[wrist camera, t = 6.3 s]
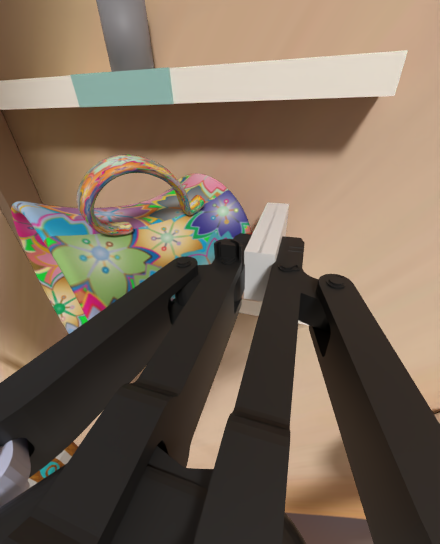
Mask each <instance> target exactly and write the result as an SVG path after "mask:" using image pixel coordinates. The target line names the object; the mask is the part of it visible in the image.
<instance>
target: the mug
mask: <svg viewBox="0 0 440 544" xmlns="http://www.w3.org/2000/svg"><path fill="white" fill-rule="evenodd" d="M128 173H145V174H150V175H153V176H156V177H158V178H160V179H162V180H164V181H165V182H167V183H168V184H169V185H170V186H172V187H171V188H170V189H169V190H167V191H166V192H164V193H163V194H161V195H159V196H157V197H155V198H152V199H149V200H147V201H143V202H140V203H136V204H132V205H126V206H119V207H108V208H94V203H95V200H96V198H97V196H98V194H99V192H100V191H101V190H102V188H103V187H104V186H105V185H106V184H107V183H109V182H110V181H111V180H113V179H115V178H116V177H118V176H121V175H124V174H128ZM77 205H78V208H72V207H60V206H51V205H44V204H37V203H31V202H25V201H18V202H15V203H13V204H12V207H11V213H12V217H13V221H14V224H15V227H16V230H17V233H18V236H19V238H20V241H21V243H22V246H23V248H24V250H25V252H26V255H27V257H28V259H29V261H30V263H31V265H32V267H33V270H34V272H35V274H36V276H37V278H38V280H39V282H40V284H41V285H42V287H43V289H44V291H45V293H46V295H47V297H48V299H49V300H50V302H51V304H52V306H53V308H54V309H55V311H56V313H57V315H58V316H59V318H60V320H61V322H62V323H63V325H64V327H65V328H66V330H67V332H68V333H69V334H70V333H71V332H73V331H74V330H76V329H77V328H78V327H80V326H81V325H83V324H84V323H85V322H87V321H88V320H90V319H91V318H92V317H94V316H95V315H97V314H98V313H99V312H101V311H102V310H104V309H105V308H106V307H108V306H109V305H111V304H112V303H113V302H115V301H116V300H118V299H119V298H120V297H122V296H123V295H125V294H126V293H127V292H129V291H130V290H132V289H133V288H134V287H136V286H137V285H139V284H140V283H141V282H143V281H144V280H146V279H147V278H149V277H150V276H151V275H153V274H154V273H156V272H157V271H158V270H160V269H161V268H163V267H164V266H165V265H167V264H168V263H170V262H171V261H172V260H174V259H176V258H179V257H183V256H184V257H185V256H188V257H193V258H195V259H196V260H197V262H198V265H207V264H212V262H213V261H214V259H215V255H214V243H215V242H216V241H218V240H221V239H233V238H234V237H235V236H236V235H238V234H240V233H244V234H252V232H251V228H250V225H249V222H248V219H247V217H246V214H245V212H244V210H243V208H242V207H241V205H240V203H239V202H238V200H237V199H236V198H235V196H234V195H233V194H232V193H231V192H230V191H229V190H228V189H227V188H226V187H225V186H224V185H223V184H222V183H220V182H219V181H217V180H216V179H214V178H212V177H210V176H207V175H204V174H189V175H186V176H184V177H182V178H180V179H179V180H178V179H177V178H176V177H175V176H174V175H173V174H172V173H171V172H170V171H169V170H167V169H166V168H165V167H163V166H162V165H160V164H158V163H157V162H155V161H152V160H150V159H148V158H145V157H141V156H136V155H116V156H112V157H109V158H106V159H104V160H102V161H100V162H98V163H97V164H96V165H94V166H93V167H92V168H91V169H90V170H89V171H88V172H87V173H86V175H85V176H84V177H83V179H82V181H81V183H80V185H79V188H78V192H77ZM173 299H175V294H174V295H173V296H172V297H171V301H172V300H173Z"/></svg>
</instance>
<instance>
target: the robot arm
mask: <svg viewBox="0 0 440 544" xmlns="http://www.w3.org/2000/svg"><path fill="white" fill-rule="evenodd" d="M288 209H289V204H284V203H267V204H266V206H265V209H264V211H263V213H262V215H261V217H260V219H259V221H258V223H257V225H256V228H255V230H254V232H253V234H244V233H240V234H238V235H236V236H235V237H234V238H233V239H221V240H218V241H216V242H215V243H214V255H215V259H214V261H213V262H212V264H207V265H198V262H197V260H196V259H195V258H193V257H188V256H185V257H184V256H183V257H179V258H176V259H174V260H172V261H171V262H170V263H168V264H167V265H165V266H164V267H163V268H161V269H160V270H158V271H157V272H156V273H154V274H153V275H151V276H150V277H149V278H147V279H146V280H144V281H143V282H141V283H140V284H139V285H137V286H136V287H134V288H133V289H132V290H130V291H129V292H127V293H126V294H125V295H123V296H122V297H120V298H119V299H118V300H116V301H115V302H113V303H112V304H111V305H109V306H108V307H106V308H105V309H104V310H102V311H101V312H99V313H98V314H97V315H95V316H94V317H92V318H91V319H90V320H88V321H87V322H85V323H84V324H83V325H81V326H80V327H78V328H77V329H76V330H74V331H73V332H71V333H70V334H68V335H67V336H66V337H64V338H63V339H61V340H60V341H59V342H57V343H56V344H54V345H53V346H52V347H50V348H49V349H47V350H46V351H45V352H43V353H42V354H40V355H39V356H38V357H36V358H35V359H33V360H32V361H31V362H29V363H28V364H26V365H25V366H24V367H22V368H21V369H19V370H18V371H17V372H15V373H14V374H12V375H11V376H10V377H8V378H7V379H5V380H4V381H3V382H1V383H0V544H306V543H305V541H304V539H303V538H302V536H301V534H300V532H299V531H298V529H297V528H296V526H295V525H294V523H293V522H292V520H291V519H290V518H289V517H288V516H287V514H286V513H285V499H286V487H287V474H288V461H289V448H290V414H291V402H292V390H293V378H294V366H295V354H296V342H297V330H298V320H299V321H301V322H303V323H306V324H308V325H309V331H310V334H311V338H312V341H313V344H314V347H315V351H316V354H317V357H318V361H319V364H320V367H321V371H322V374H323V377H324V381H325V384H326V387H327V390H328V394H329V397H330V400H331V404H332V407H333V410H334V414H335V417H336V420H337V424H338V427H339V430H340V433H341V437H342V440H343V443H344V447H345V450H346V453H347V457H348V460H349V463H350V467H351V470H352V473H353V476H354V480H355V483H356V486H357V490H358V493H359V496H360V500H361V503H362V506H363V510H364V513H365V516H366V519H367V523H368V526H369V529H370V532H371V536H372V539H373V542H374V544H440V423H439V422H438V420H437V419H436V417H435V415H434V414H433V412H432V410H431V409H430V407H429V406H428V404H427V402H426V401H425V399H424V398H423V396H422V394H421V393H420V391H419V389H418V388H417V386H416V385H415V383H414V381H413V380H412V378H411V376H410V375H409V373H408V372H407V370H406V368H405V367H404V365H403V363H402V362H401V360H400V359H399V357H398V355H397V354H396V352H395V350H394V349H393V347H392V346H391V344H390V342H389V341H388V339H387V338H386V336H385V334H384V333H383V331H382V329H381V328H380V326H379V325H378V323H377V321H376V320H375V318H374V316H373V315H372V313H371V312H370V310H369V308H368V307H367V305H366V303H365V302H364V300H363V299H362V297H361V295H360V294H359V292H358V291H357V289H356V287H355V286H354V284H353V283H352V282H351V281H350V280H349V279H348V278H346V277H344V276H341V275H337V274H325V275H323V276H321V277H320V278H319V280H318V279H315V278H313V277H310V276H309V275H307V274H306V273H305V272H304V271H303V269H302V263H303V252H304V242H303V240H302V239H301V238H294V237H286V228H287V219H288ZM243 292H244V299H249V300H255V301H262V306H261V309H260V313H259V317H258V321H257V325H256V328H255V332H254V336H253V340H252V343H251V347H250V351H249V355H248V359H247V362H246V366H245V370H244V374H243V378H242V381H241V385H240V389H239V393H238V397H237V400H236V404H235V408H234V411H233V413H231V414H230V416H229V418H228V421H227V424H226V427H225V430H224V434H223V438H222V441H221V445H220V449H219V452H218V456H217V459H216V463H215V467H214V469H191V468H186V466H187V462H188V457H189V450H190V444H191V441H192V438H193V435H194V432H195V429H196V427H197V424H198V421H199V419H200V416H201V413H202V410H203V408H204V405H205V402H206V400H207V397H208V394H209V392H210V389H211V386H212V383H213V381H214V378H215V375H216V373H217V370H218V367H219V365H220V362H221V359H222V356H223V354H224V351H225V348H226V346H227V343H228V340H229V338H230V335H231V332H232V329H233V327H234V324H235V321H236V319H237V316H238V313H239V311H240V308H241V305H242V295H243ZM174 294H175V299H173V300H172V301H171V297H172V296H173V295H174ZM146 365H147V366H146ZM145 366H146V367H145ZM144 367H145V369H144ZM143 369H144V370H143ZM142 370H143V372H142V374H141V375H140V377H139V378H138V379H137V381H136V382H134V383H130V382H131V381H132V380H133V379H134V378H135V377H136V376H137V375H138V374H139V373H140V372H141V371H142ZM102 411H103V412H102ZM101 412H102V413H101ZM100 413H101V415H100V416H99V418H98V419H97V421H96V422H95V424H94V425H93V426H92V428H91V429H90V431H89V432H88V434H87V435H86V437H85V438H84V440H83V441H82V443H81V444H80V445H79V447H78V448H77V450H76V451H75V453H74V454H73V456H72V457H71V459H70V460H69V462H68V463H67V464H65V465H64V466H62V467H61V468H59V469H58V470H56V471H55V472H53V473H52V474H50V475H48V476H47V477H45V478H44V479H42V480H41V481H39V482H38V483H36V484H35V485H33V486H32V487H30V484H29V482H28V478H30V477H31V476H33V475H34V474H35V473H37V472H38V471H39V470H41V469H42V468H44V467H45V466H46V465H47V464H48V463H50V462H51V461H52V460H53V459H54V458H56V457H57V456H58V455H59V454H60V453H62V452H63V451H64V450H65V449H66V448H67V447H68V446H69V445H70V444H71V443H72V442H73V441H74V440H75V439H76V438H77V437H78V436H79V435H80V434H81V433H82V432H83V431H84V430H85V429H86V428H87V427H88V426H89V425H90V424H91V422H92V421H93V420H94V419H95V418H96V417H97V416H98V415H99V414H100ZM29 487H30V488H29Z"/></svg>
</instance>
